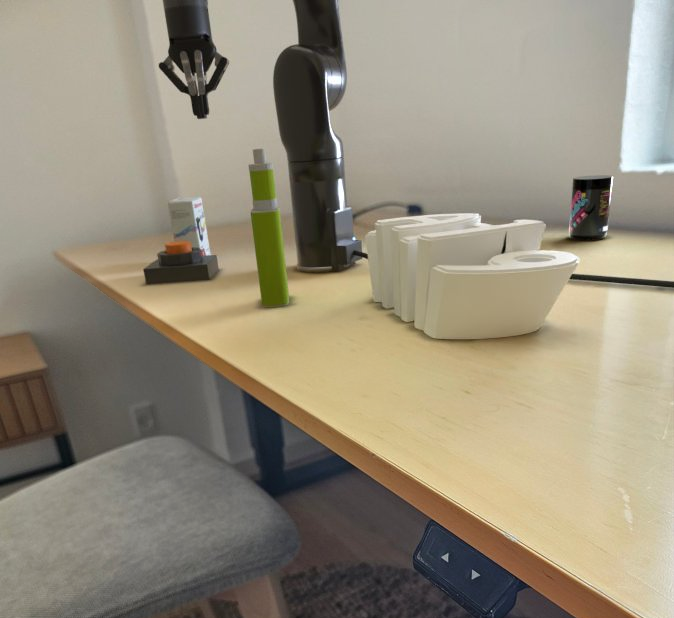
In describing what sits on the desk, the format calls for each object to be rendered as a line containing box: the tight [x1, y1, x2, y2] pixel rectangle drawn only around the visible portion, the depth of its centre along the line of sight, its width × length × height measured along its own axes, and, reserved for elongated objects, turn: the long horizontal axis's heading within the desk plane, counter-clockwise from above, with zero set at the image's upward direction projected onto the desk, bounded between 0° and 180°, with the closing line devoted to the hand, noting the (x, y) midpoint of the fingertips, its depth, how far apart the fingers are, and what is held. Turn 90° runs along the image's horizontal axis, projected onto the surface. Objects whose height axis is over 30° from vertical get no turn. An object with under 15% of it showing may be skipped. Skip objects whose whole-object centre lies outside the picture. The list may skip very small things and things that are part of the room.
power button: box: [164, 241, 192, 254], centre depth 114 cm, size 4×4×2 cm
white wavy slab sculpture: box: [364, 212, 581, 340], centre depth 81 cm, size 35×16×11 cm, turn 14°
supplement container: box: [568, 174, 614, 242], centre depth 119 cm, size 7×7×10 cm
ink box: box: [167, 196, 212, 256], centre depth 126 cm, size 9×5×12 cm, turn 179°
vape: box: [248, 148, 290, 308], centre depth 90 cm, size 4×6×20 cm, turn 2°
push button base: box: [143, 247, 220, 285], centre depth 115 cm, size 11×9×4 cm
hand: (202, 118), depth 121 cm, fingers closed
